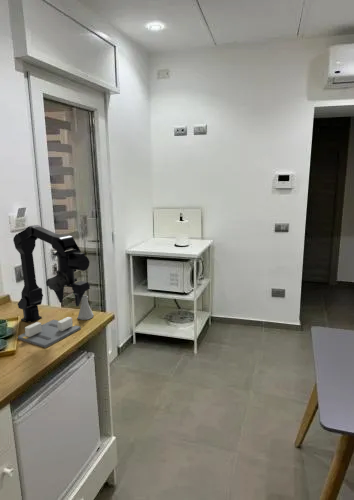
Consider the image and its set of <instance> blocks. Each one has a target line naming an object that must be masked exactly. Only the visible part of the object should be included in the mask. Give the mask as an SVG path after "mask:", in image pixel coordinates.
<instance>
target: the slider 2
mask: <svg viewBox="0 0 354 500" xmlns="http://www.w3.org/2000/svg"><path fill="white" fill-rule="evenodd" d="M57 325H58V330H60V331H63V330H65V329H67V328H69V327H71V326H73V325H74V324H73V317H70V316H67V317H64V318H62V319H60V320H58V322H57Z"/></svg>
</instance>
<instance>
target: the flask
mask: <svg viewBox="0 0 354 500" xmlns="http://www.w3.org/2000/svg"><path fill="white" fill-rule="evenodd" d="M88 298H89V296H88V295H83V297H82V299H81V302H80V309H79V312H78V315H77V319H78V320H81V321H86V320H90V319H92V318H94V313H93V310H92V309H91V307H90V304H89V301H88Z"/></svg>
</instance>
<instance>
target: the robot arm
mask: <svg viewBox="0 0 354 500" xmlns="http://www.w3.org/2000/svg"><path fill="white" fill-rule="evenodd" d="M38 239H39V240H41V241H44V242H45V243H48V244H49V245H51V247H52V249H54V250H55V251H56V252H54V254H53V255H54V256H55V257H57V259H58V260H57V261H58V270H56V275H54V276H53V277H50V278H47V280H46V281H45V283H46V287H48V288H49V289H50V290H52V291H54V293H55V295H56V298H57V299H58V302H59V303H63V300H64V291H65V290H64V289H65V287H69V288H71V290H72V292H71V293H72V294H73V295H74V300H75V306H76V307H79V306H80V305H81V302H82V297H83V296H85V293H86V291H88V290H90V289H91V287H90V282H87V281H83V280H82V281H78V278H75V277H76V276H75V272H77V271H82V272H84V271H87V270H88V268H89V267H90V260H89V258H88V257H87V256H86V254H85V252H81V249H80V247H79V246H78V244H77V242H76V241H75V238H74V236H72V235H69V234H63V233H61V234H59V233H57V232H54V231H51V230H49V229H46V228H44V227H41V226H40V225H38V224H36V225H35V224H34V225H29V226H27V227H26V228H25V229H24V230H22V231H20V232H18V233H16V234H15V235H14V236H13V244H14V247H15V250H16V251H17V252H18V253H19V256H20V262H21V269H22V278H23V284H24V286H23V288H22V291H21V298H20V300H19V301H18V302H17V306H18V309H20V310H22V311H23V312H22V313H23V317H22V318H20V321H24V322H26V323H30V324H32V323H34V322H35V321H36V322H37V320H40V319H42V316H40V313H39V311H40V310H39V305H42V301H43V297H44V293H43V288H42V287H39V286H38V284H37V276H36V270H35V262H34V254H33V253H34V250H35V248H36V240H38Z"/></svg>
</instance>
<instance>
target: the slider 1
mask: <svg viewBox="0 0 354 500" xmlns="http://www.w3.org/2000/svg"><path fill="white" fill-rule="evenodd" d="M41 325H42V322H40V321H36V322H33V323H30V324H29V325H27V326H25V327H24V331H25V332H24V333H25V334H26V336H28V337H31V336H33V335H35V334H37V333H39V332H41V331H42V327H41Z"/></svg>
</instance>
